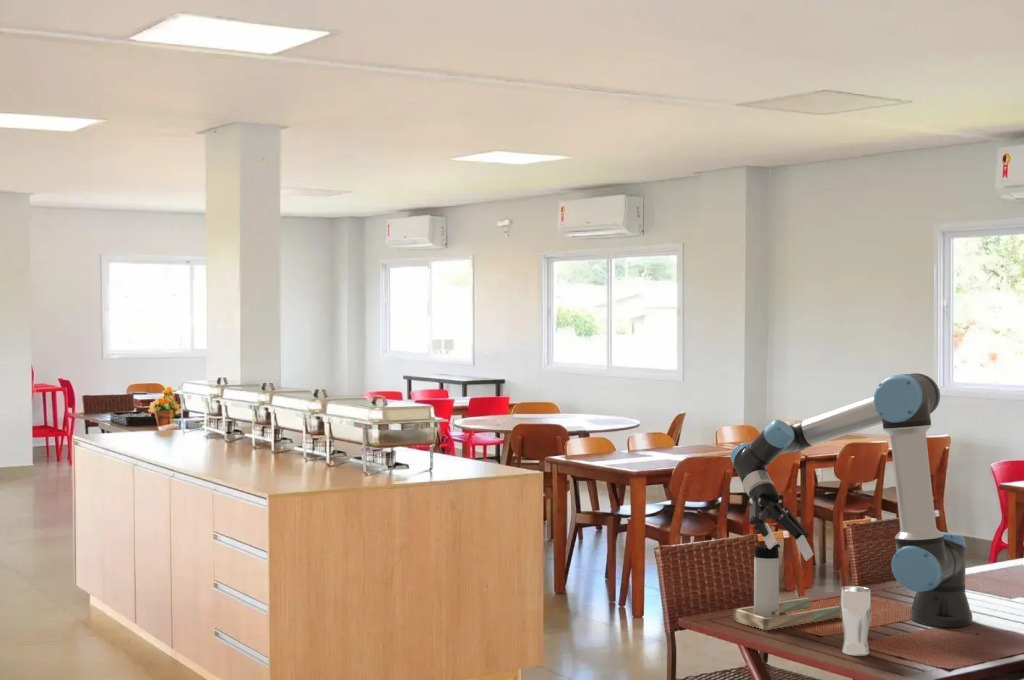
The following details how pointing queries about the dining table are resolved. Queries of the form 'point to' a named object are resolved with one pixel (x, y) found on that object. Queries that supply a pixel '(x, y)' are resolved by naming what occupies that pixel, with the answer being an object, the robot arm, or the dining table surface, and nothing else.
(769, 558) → the travel mug
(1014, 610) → the dining table surface
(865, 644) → the beer glass
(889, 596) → the dining table surface
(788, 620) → the bay
